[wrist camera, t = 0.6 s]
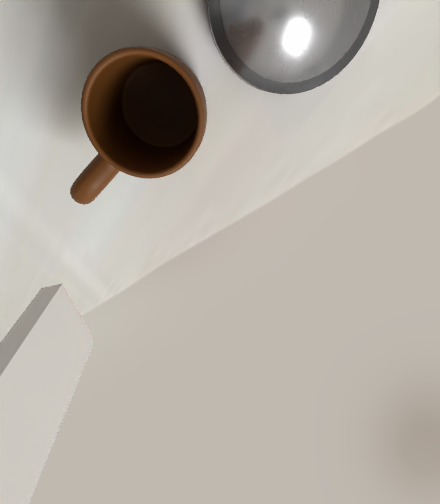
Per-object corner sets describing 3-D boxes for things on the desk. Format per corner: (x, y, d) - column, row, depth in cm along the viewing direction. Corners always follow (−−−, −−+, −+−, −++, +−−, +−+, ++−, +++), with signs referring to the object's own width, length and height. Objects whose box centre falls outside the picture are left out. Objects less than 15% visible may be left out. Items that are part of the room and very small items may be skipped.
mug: (136, 201, 32) (112, 245, 23) (68, 144, 29) (13, 171, 21) (225, 106, 28) (232, 118, 20) (156, 30, 25) (132, 7, 17)
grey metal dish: (187, 60, 26) (185, 58, 23) (242, -144, 21) (247, -176, 18) (319, 114, 28) (330, 117, 26) (398, -58, 23) (422, -75, 20)
